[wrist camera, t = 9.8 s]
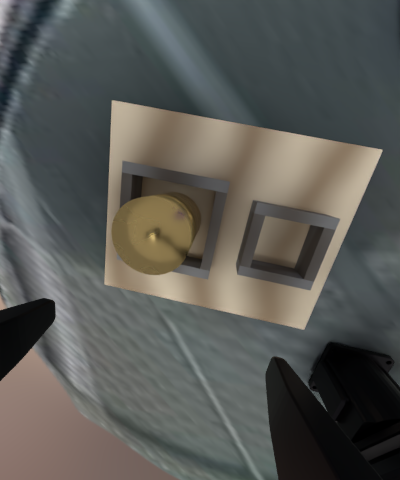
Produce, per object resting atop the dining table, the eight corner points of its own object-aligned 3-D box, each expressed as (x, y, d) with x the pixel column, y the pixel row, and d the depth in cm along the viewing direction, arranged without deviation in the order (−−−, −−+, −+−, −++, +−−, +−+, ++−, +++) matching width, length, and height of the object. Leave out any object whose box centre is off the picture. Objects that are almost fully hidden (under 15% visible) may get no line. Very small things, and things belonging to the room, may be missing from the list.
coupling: (206, 198, 16) (197, 206, 10) (195, 249, 17) (182, 282, 12) (152, 186, 16) (113, 188, 10) (145, 238, 17) (109, 265, 12)
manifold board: (367, 152, 15) (409, 144, 12) (298, 319, 20) (313, 346, 17) (121, 107, 16) (95, 88, 13) (112, 277, 21) (91, 295, 17)
